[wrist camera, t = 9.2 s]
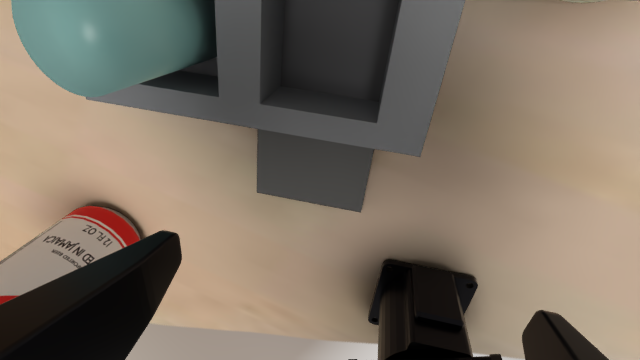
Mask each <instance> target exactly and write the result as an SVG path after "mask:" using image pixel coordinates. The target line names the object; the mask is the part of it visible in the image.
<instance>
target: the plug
mask: <svg viewBox="0 0 640 360" xmlns="http://www.w3.org/2000/svg"><path fill="white" fill-rule="evenodd" d="M11 1H12V14H13V19H14V23H15V27H16V29H17V32H18V35H19V37H20V39H21V42H22V44H23V45H24V47H25V49H26V51H27V52H28V54H29V55H30V57H31V59H32V60H33V61H34V62H35V64H36V65H37V66H38V67H39V68H40V70H41V71H42V72H43V73H44V74H45V75H46V76H47V77H49V78H50V79H51V80H52V81H53V82H55V83H56V84H57V85H59V86H60V87H62V88H64V89H66V90H67V91H69V92H72V93H74V94H77V95H81V96H85V97H99V96H103V95H106V94H109V93H112V92H115V91H118V90H121V89H124V88H127V87H130V86H133V85H136V84H139V83H142V82H145V81H148V80H151V79H154V78H157V77H160V76H163V75H166V74H169V73H172V72H175V71H178V70H181V69H184V68H187V67H190V66H193V65H196V64H199V63H202V62H205V61H208V60H211V59H213V58H216V57H217V42H216V20H215V0H11Z"/></svg>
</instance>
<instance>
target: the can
mask: <svg viewBox="0 0 640 360" xmlns="http://www.w3.org/2000/svg"><path fill="white" fill-rule="evenodd" d="M561 1H566V2H576V3H590V2H600V1H606V0H561ZM630 1H640V0H630Z"/></svg>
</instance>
